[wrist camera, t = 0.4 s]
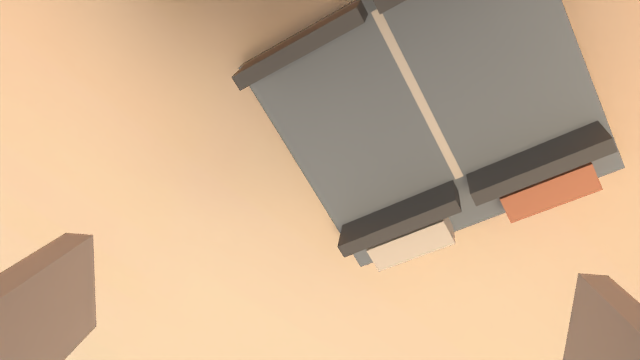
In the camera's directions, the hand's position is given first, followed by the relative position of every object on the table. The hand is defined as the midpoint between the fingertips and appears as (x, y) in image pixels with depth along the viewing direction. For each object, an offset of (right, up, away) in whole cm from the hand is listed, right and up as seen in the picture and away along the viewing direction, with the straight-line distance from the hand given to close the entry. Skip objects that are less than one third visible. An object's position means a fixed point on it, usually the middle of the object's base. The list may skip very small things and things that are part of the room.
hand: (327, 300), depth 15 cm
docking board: (+7, +8, +23) cm, 26 cm away
